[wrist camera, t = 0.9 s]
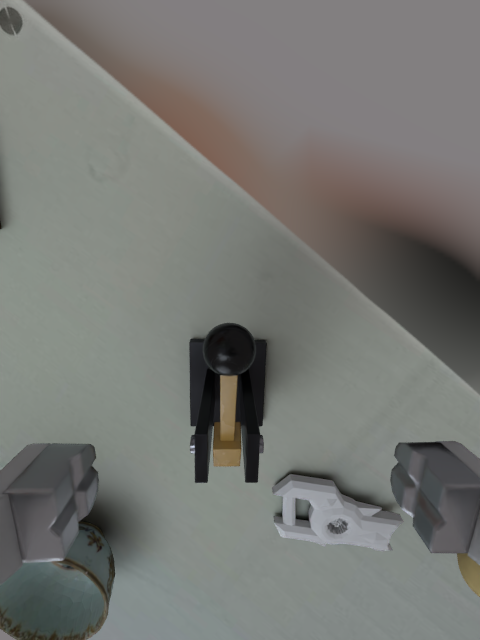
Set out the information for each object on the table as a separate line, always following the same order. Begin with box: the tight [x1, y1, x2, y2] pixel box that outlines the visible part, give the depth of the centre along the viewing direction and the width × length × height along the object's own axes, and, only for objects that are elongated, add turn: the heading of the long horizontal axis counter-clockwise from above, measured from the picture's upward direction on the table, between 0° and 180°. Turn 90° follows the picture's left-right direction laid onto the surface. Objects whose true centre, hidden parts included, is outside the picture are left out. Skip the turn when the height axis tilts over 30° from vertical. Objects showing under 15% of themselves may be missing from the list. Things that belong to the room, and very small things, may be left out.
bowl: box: [0, 522, 115, 640], centre depth 36 cm, size 14×13×8 cm
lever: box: [203, 323, 256, 466], centre depth 20 cm, size 14×3×3 cm, turn 178°
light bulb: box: [457, 553, 480, 597], centre depth 37 cm, size 6×6×10 cm
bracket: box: [190, 339, 267, 483], centre depth 29 cm, size 11×9×14 cm
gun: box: [272, 474, 404, 551], centre depth 39 cm, size 18×3×10 cm
